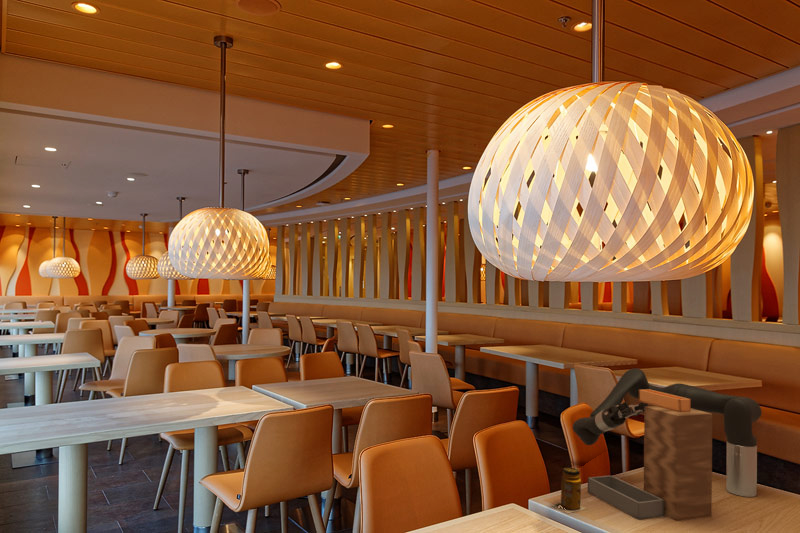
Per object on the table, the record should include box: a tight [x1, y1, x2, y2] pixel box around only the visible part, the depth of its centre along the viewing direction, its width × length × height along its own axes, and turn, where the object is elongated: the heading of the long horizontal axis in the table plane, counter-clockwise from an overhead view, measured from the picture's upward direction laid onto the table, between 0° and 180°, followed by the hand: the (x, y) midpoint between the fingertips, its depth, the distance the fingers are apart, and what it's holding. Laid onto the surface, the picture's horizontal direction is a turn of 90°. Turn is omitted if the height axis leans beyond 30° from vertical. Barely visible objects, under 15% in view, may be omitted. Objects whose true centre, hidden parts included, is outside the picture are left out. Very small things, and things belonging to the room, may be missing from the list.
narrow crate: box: [638, 389, 691, 412], centre depth 192 cm, size 18×4×4 cm, turn 19°
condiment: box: [551, 467, 587, 514], centre depth 185 cm, size 7×8×12 cm
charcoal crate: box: [587, 474, 665, 521], centre depth 190 cm, size 24×10×5 cm, turn 19°
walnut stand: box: [643, 405, 713, 522], centre depth 186 cm, size 14×14×32 cm
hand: (637, 404), depth 204 cm, fingers open, 8 cm apart
